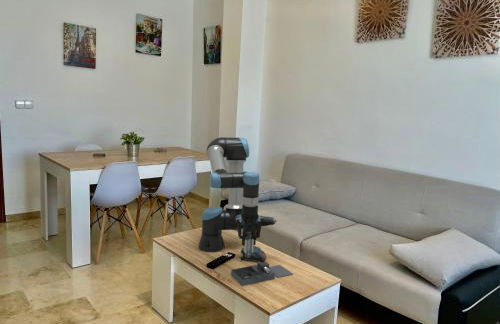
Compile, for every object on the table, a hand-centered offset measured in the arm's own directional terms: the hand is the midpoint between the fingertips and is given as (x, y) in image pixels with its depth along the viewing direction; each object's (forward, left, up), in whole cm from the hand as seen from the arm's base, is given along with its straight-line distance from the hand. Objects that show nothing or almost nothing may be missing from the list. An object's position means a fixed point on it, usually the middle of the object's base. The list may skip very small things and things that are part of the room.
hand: (248, 251), depth 186 cm
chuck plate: (0, +3, -14) cm, 14 cm away
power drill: (-19, +15, -14) cm, 28 cm away
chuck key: (0, 0, -3) cm, 3 cm away
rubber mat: (0, +18, -14) cm, 23 cm away
